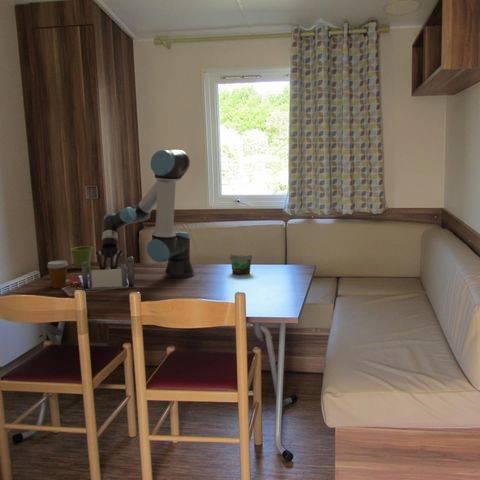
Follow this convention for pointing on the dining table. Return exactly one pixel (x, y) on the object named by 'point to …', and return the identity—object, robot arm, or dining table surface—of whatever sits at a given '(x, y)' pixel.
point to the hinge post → (84, 276)
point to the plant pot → (81, 255)
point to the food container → (240, 264)
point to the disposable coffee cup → (58, 273)
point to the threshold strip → (110, 287)
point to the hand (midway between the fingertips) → (107, 281)
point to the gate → (108, 277)
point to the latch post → (131, 272)
